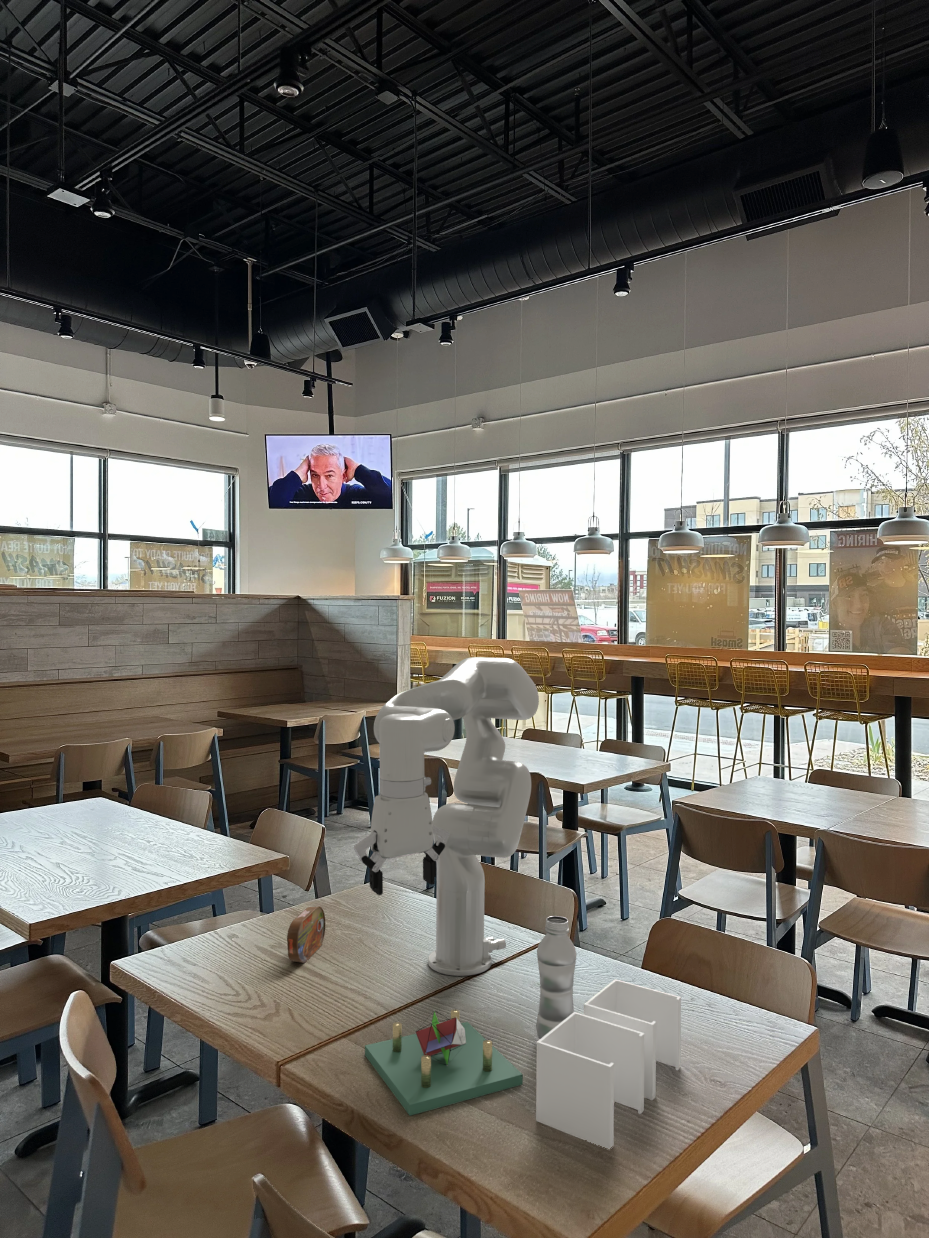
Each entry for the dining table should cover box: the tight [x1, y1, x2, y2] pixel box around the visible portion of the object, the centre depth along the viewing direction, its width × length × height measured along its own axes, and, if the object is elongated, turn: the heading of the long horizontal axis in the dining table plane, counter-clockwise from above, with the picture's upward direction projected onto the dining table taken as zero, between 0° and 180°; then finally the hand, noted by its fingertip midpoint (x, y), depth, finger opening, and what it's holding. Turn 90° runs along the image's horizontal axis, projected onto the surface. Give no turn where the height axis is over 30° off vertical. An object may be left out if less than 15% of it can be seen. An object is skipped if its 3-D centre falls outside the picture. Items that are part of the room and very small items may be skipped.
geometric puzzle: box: [414, 1009, 466, 1066], centre depth 129 cm, size 7×7×8 cm
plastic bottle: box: [535, 915, 577, 1041], centre depth 137 cm, size 6×7×20 cm
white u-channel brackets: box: [535, 978, 682, 1150], centre depth 123 cm, size 25×11×11 cm, turn 145°
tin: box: [286, 905, 326, 964], centre depth 172 cm, size 15×3×8 cm, turn 168°
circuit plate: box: [364, 1021, 524, 1116], centre depth 129 cm, size 18×18×2 cm
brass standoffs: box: [392, 1009, 493, 1088], centre depth 129 cm, size 11×12×4 cm
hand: (403, 887), depth 144 cm, fingers open, 9 cm apart
